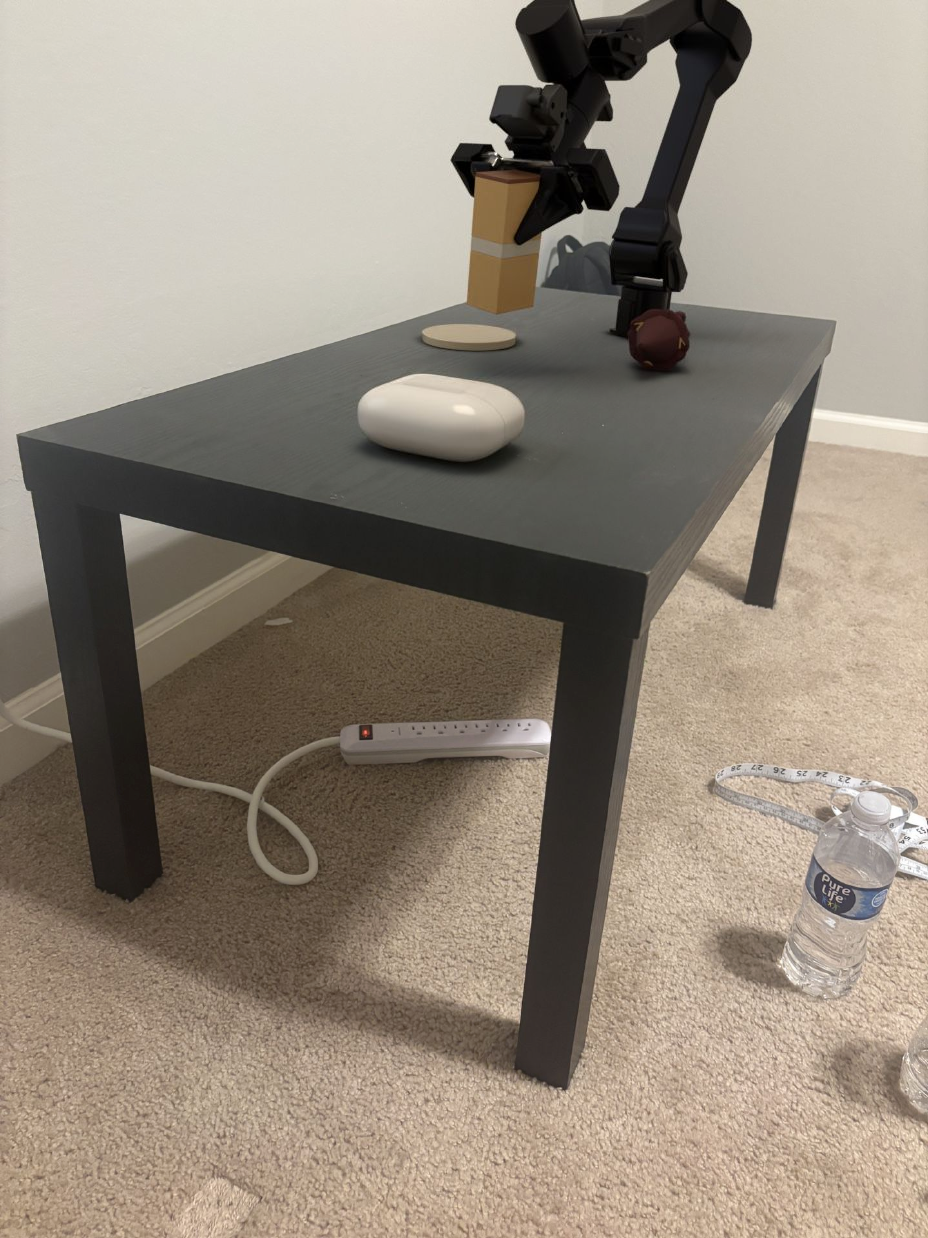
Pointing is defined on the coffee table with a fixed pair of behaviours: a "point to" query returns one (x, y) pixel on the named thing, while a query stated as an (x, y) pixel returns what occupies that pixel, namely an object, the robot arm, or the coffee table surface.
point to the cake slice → (502, 243)
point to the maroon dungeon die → (659, 339)
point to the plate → (469, 337)
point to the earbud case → (441, 417)
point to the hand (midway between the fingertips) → (495, 239)
